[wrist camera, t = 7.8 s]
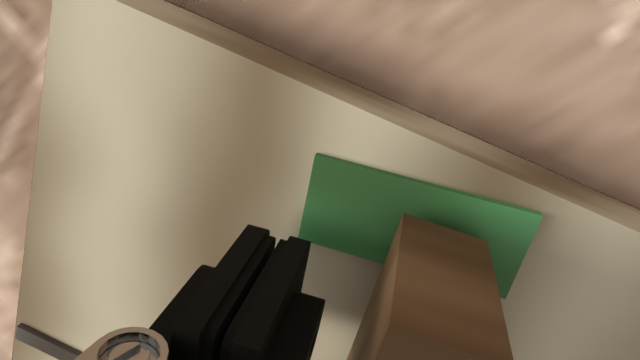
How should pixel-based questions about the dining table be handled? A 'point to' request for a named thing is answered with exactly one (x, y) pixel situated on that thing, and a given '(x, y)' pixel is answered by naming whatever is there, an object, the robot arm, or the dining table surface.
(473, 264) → the dial
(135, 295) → the dial board
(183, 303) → the robot arm
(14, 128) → the dining table surface
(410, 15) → the dining table surface
